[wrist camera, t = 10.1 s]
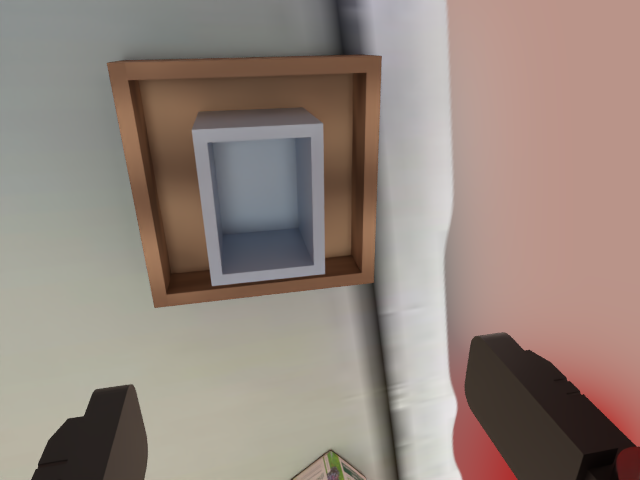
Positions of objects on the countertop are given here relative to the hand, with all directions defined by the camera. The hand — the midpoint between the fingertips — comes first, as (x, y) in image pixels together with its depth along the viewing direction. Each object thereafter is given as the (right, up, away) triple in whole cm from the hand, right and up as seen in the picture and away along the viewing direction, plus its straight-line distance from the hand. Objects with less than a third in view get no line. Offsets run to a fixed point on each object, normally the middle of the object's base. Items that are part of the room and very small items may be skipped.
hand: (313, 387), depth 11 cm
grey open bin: (-4, +7, +17) cm, 19 cm away
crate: (-4, +8, +18) cm, 20 cm away
